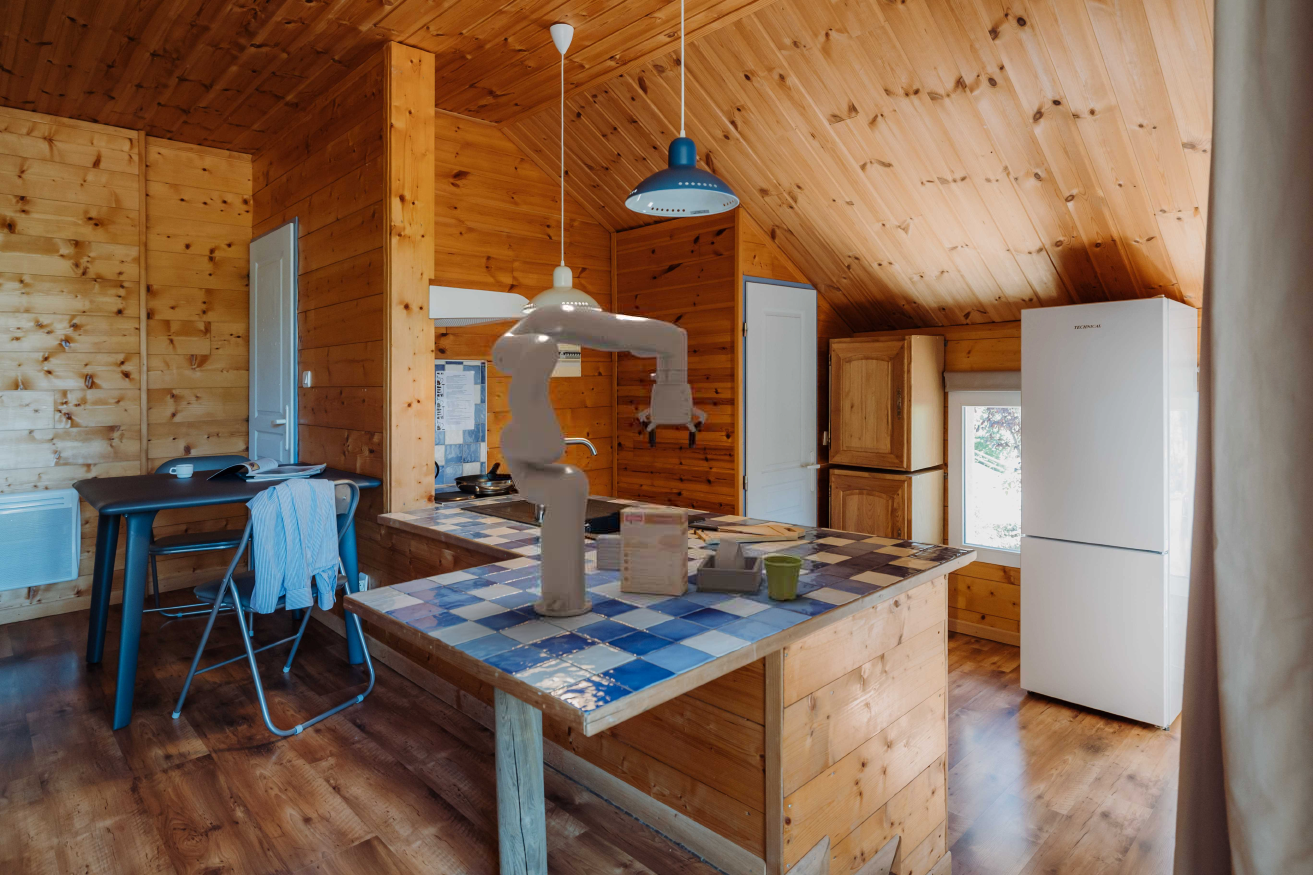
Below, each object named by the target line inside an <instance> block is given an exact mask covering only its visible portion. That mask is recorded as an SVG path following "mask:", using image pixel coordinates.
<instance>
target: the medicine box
mask: <svg viewBox="0 0 1313 875" xmlns="http://www.w3.org/2000/svg"><path fill="white" fill-rule="evenodd" d="M595 540H596V541H595V544H596V547H595V548H596V549H595V550H596V556H595V557H596V570H599V571H600V570H601V571H602V570H604V571H605V570H609V571H610V570H611V571H613V570H614V571H616V570H617V571H621V534H599V535H598V536H597V537H596V539H595Z"/></svg>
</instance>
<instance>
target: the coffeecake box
mask: <svg viewBox="0 0 1313 875" xmlns="http://www.w3.org/2000/svg"><path fill="white" fill-rule="evenodd" d="M688 509H689V508H676V507H675V508H673V507H672V508H671V507H649V506H648V507H646V506H645V507H644V506H643V507H642V506H628V507H625V508H623V509H621V510H620V513H619V514H620V515H619V516H620V535H621V570H620V591H621V593H622V592H623V593H638V594H639V593H640V594H650V595H651V594H653V595H654V594H655V595H667V596H680V597H682V596H683V594H684V593H685V592H686V591H688V589H689V540H688V539H689V536H688V535H689V514H688V513H689V512H688V511H689V510H688Z"/></svg>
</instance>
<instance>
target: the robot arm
mask: <svg viewBox="0 0 1313 875" xmlns="http://www.w3.org/2000/svg"><path fill="white" fill-rule="evenodd" d="M558 344H562V345H571V346H576V347H583V348H589V349H593V350H598V351H603V352H630V353H631V354H632V355H634V356H636V357H639V358H655V357H656V371H655V373H651V374H650V379H651V380H655V381H656V383H654V384H653V386H652V391H651V397H650V398H651V401H650V407H648V408H646V409H644V410H643V411H640V412H639V413H637V417H638V419H639V421H640V423H641V425H642V426H643V427H644V428H645V429H646V431H647V432H648V435H647V436H648V442H647V443H648V445H650V448H655V447H657V431H656V430H655V429H656V427H657V426H658V425H685V426H686V427H688V429H689V432H688V448H689V449H692V448H693V449H694V446H695V445H696V443H697V431H698V430H699V429H700V428H701V427H702V425H704V423H705V420H706V419H707V416H708V415H707V413H705V412H704V411H702V410H700V409H698V408H696V407H694V405H693V397H692V388H691V384H689V383H688V333H687V330H686V329H684V328H680V327H678V326H676V325H675V324H673V323H670V322H667V321H662V320H660V319H659V320H658V319H655V318H653V319H652V318H647V317H640V316H639V317H638V316H631V315H626V314H619V313H612V312H605V311H602V310H597V309H593V308H590V307H585V306H581V305H576V304H571V303H560V304H552V305H543V306H539V307H537V308H534V309H533V310H531V311H530V312H529V313H528V314H526V315H525V316H524V317H522V319H520V320H519V321H518V322H517V323H516V324H515V325H513V326H512V327H511V328H509V329H508V330H507V331H506V332H505V333H503V334H502V335H501V336H500V337H499V338H498V339H497V340H496V341H495V343H494V345H493V347H492V349H491V356H490V357H491V363H492V365H493V367H494V368H495V369H496V370H497V371H498V372H499V373H501V374H502V375H505V376H510V377H511V379H510V382H509V385H508V389H507V397H506V398H507V400H506V401H507V405H508V409H509V413H510V415H511V417H512V420H510V421H509V422H507V423H506V424H505V425H504V426H503V428H502V430H501V432H500V436H499V449H500V452H501V456H502V458H503V461H504V463H505V465H506V468H507V469H508V472H509V474H510V477H511V479H512V481H513V483H514V485H515V488H516V490H517V492H518V494H519V495H520V496H521V498H523V499H524V500H525V501H526V502H528V503H529V504H530V503H531V504H534V505H539V506H545V507H546V508H545V512H544V515H543V517H542V518H541V524H540V532H539V533H540V582H541V584H540V586H541V588H540V590H541V591H540V593H541V595H540V597H541V598H540V599H539V600H537V601H535V603H534V604H533V605H534V607H533V609H534V611H535V612H536V613H538V614H539V615H543V616H548V617H573V616H579V615H583V614H586V613H588V612H590V611H591V610H592V609H593V606H594V605H593V601H592V600H591V599H589V598H588V597H586V537H585V536H586V535H585V534H586V533H585V532H586V531H585V530H586V527H585V524H586V510H587V503H588V498H589V494H590V493H589V492H590V483H589V479H588V477H587V474H586V473H585V472H584V471H583V470H582V469H581V468H579V467H577V466H575V465H572V464H568V463H561V462H560V463H558V462H559V461H560V460H561V459H563V458H564V456H565V454H566V450H567V444H566V442H567V441H566V438H565V435H564V433H563V430H562V428H561V426H560V423H559V420H558V418H557V414H556V412H555V410H554V408H553V407H554V406H553V405H552V401H551V398H550V395H549V388H550V387H549V386H550V380H551V378H552V375H553V372H554V371H555V369H556V366H557V364H558V361H559V354H560V352H559V346H558ZM649 414H650V416H649V417H650V418H649V419H650V422H649V421H648V420H647V418H646V416H647V415H649ZM694 415H696V416H698V417H699V418H698V421H697V422H696V423H694V422H693V420H694Z"/></svg>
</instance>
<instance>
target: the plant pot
mask: <svg viewBox="0 0 1313 875" xmlns="http://www.w3.org/2000/svg"><path fill="white" fill-rule="evenodd" d="M804 562H805V561H804V560H803V559H802V558H800V557H797V556H792V555H767V556H764V557H762V563H763V565H764V569H765V573H766V580H767V581H766V582H767V583H766V584H767V593H768V597H770V598H771V599H773V600H776V601H777V600H779V601H785V600H788V601H789V600H791V601H792V600H794V599H796V597H797V589H798V584H799V578H800V576H799V575H800V571H801V569H802V566H803V564H804Z"/></svg>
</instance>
